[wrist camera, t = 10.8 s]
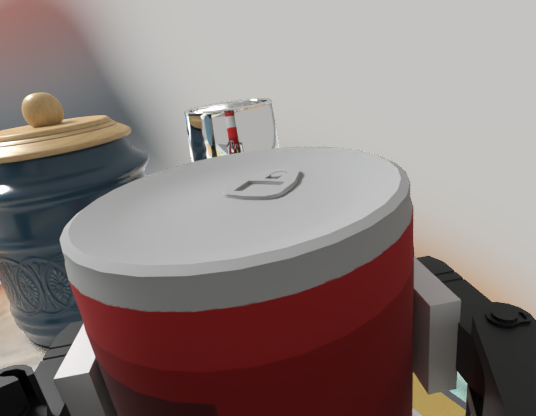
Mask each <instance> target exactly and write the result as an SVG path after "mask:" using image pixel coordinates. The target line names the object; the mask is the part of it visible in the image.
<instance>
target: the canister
mask: <svg viewBox="0 0 536 416" xmlns="http://www.w3.org/2000/svg"><path fill="white" fill-rule="evenodd" d="M22 113H23V116H24V118H25V120H26V121H27V123H28V124H29V125H27V126H22V127H17V128H11V129H6V130H2V131H0V281H1V283H2V285H3V288H4V290H5V292H6V294H7V297H8V299H9V301H10V310H11V314H12V315H13V317H14V319H15V322H16V324H17V325H18V327H19V328H20V329H21V330H23V331H24V333H25V334H26V336H27V337H28V338H29V339H30V340H31V341H32V342H34V343H36V344H39V345H43V346H48V347H50V346H51V345H52V343H53V341H54V340H55V338H56V336H57V335H58V334H59V333H60V332H61V331H62V330H64V329H65V328H66V327H67V326H68V325H69V324H70V323H73V322H78V321H83V319H82V316H81V313H80V310H79V308H78V305H77V302H76V300H75V297H74V294H73V291H72V289H71V286H70V283H69V281H68V276H67V272H66V268H65V258H64V255H63V252H62V248H61V244H60V240H59V239H60V237H61V234H62V232H63V229H64V227H65V226H66V225H67V223H68V222H69V221H70V220H71V219H72V218H73V217H74V216H75V215H76V214H77V213H78V212H80V211H81V210H83V209H84V208H85V207H87V206H88V205H89V204H91V203H92V202H94V201H95V200H96V199H98V198H100V197H101V196H103V195H105V194H107V193H109V192H110V191H112V190H114V189H116V188H119V187H121V186H123V185H125V184H127V183H130V182H132V181H134V180H137V179H140V178H142V177H145V176H146V172H145V166H146V164H147V163H148V160H149V156H148V154H147V153H146V152H144V151H142V150H140V149H137V148H135V147H133V146H132V145H131V144H130V143H129V141H128V140H127V138H126V136H127V135H128V134H130V132H131V128H130V127H128V126H126V125H123V124H120V123H117V122H115V121H113V120H111V119H110V118H109V117H108V116H105V115H101V116H100V115H99V116H87V117H80V118H71V119H64V120H63V117H64V112H63V108H62V106H61V104H60V102H59V101H58V100H57V99H56V98H55V97H54V96H52V95H51V94H48V93H41V92H40V93H33V94H30V95H28V96H27V97H25V99H24V100H23V102H22Z"/></svg>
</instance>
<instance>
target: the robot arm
mask: <svg viewBox="0 0 536 416" xmlns="http://www.w3.org/2000/svg"><path fill="white" fill-rule="evenodd" d="M457 371H458V372H459V374H460V375H461V376H462V377H463V379H464V380H465V381H466V382H467V384H468V385H467V399H466V414H465V416H536V320H535V319H534V318H533V317H532V316H531V314H529V313H528V312H526V311H524V310H523V309H521V308H519V307H516V306H513V305H510V304H505V303H499V302H491V301H490V300H489V299H488V298H486V297H485V296H484V295H483V294H482V293H480V292H479V291H478V290H477V289H476V288H474V287H473V286H472V285H470V283H468V282H467V281H466V280H463V278H462V277H461V276H460V275H459V274H457V273H456V272H454V270H453V269H452V268H450V267H449V266H448V265H447V264H446V263H444V262H442V261H440V260H438V259H435V258H433V257H430V256H426V257H420V258H415V257H414V309H413V372H414V374H415V375H416V377H417V378H418V380H419V381H420V383H421V384H422V386H423V387H424V389H425V391H426V392H427V394H428V395H429V394H433V393H438V392H443V391H448V390H452V389H456V380H457ZM0 416H118V415H117V413H116V410H115V407H114V405H113V402H112V399H111V397H110V394H109V392H108V389H107V386H106V384H105V381H104V378H103V376H102V373H101V370H100V368H99V365H98V362H97V360H96V357H95V354H94V352H93V349H92V347H91V344H90V341H89V339H88V336H87V333H86V331H85V327H84V323H83V321H78V322H73V323H70V324H69V325H68V326H67V327H66V328H65V329H64V330H62V331H61V332H60V333H59V334H58V335H57V336H56V338H55V340H54V341H53V343H52V345H51V346H50V350H48V351H47V353H46V354H45V356H44V358H43V361H41V362H40V364H39V366H38V367H37V369H36V370H35V372H33V370H32V368H31V367H29V366H27V365H13V366H10V367H7V368H4V369H1V370H0Z"/></svg>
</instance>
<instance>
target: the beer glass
mask: <svg viewBox="0 0 536 416" xmlns="http://www.w3.org/2000/svg"><path fill="white" fill-rule="evenodd" d="M185 117H186V124H187V133H188V140H189V149H190V155H191V161H192V162H195V161H199V160H204V159H208V158H213V157H217V156H223V155H229V154H234V153H240V152H248V151H255V150H263V149H274V148H280V146H279V139H278V134H277V129H276V123H275V119H274V114H273V110H272V103H271V99H268V98H258V99H246V100H237V101H230V102H222V103H216V104H210V105H205V106H200V107H195V108H192V109H188V110H186V111H185Z"/></svg>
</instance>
